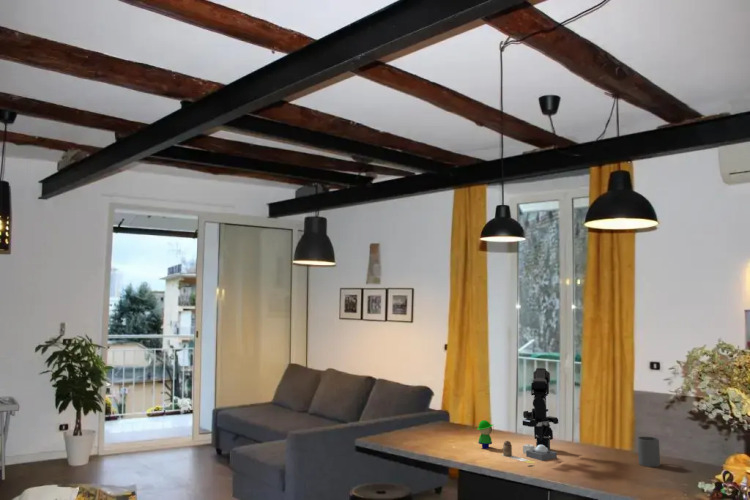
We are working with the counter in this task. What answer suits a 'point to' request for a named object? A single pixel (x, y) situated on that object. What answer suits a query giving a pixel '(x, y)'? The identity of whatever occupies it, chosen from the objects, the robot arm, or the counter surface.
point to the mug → (648, 451)
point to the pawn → (507, 449)
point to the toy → (485, 433)
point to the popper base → (541, 455)
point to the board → (521, 460)
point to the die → (527, 448)
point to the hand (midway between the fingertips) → (541, 439)
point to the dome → (541, 449)
